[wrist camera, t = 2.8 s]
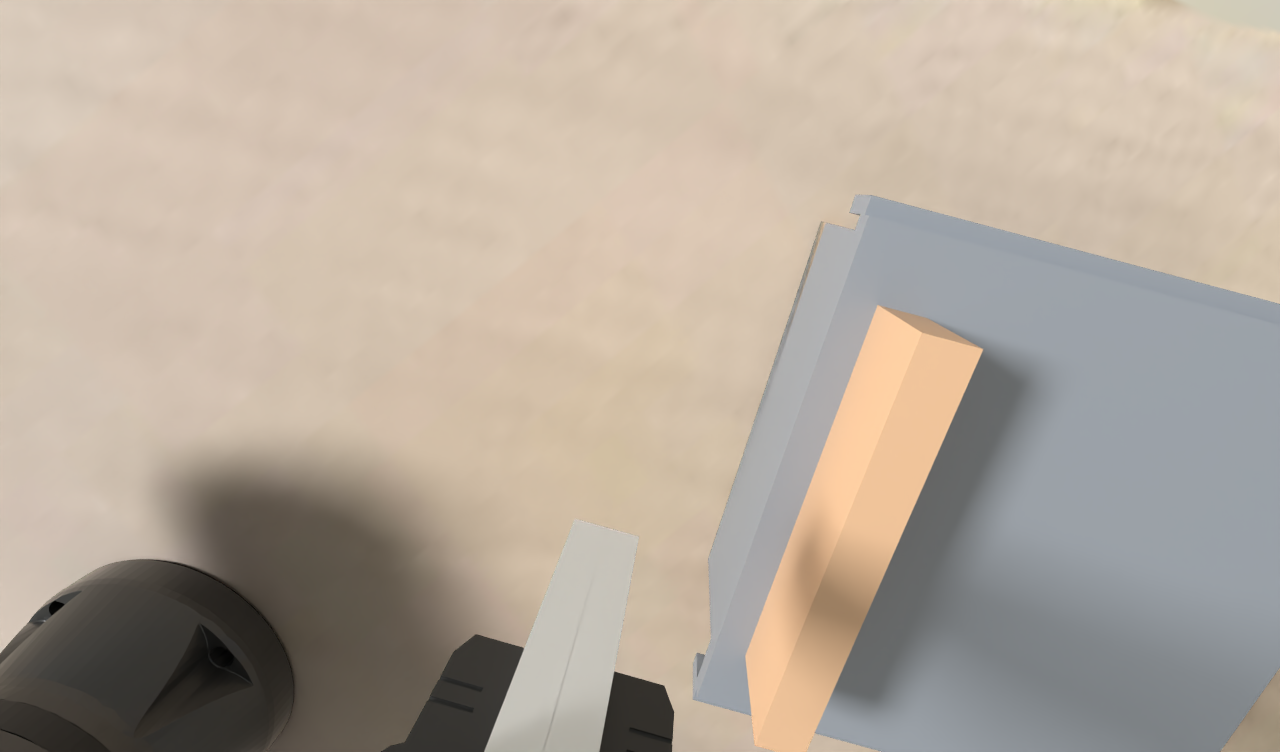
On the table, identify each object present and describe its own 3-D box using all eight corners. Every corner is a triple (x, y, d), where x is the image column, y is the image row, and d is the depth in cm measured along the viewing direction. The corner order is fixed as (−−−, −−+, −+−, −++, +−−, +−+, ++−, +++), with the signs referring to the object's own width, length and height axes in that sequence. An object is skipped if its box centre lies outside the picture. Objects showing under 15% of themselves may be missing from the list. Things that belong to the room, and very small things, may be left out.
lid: (693, 663, 27) (692, 805, 21) (855, 194, 21) (923, 196, 15) (1118, 780, 27) (1244, 957, 21) (1405, 341, 21) (1707, 405, 15)
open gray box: (708, 558, 33) (712, 669, 25) (821, 221, 28) (869, 233, 20) (1036, 648, 33) (1140, 787, 25) (1214, 326, 27) (1414, 379, 20)
